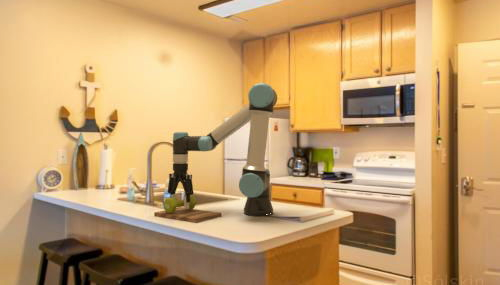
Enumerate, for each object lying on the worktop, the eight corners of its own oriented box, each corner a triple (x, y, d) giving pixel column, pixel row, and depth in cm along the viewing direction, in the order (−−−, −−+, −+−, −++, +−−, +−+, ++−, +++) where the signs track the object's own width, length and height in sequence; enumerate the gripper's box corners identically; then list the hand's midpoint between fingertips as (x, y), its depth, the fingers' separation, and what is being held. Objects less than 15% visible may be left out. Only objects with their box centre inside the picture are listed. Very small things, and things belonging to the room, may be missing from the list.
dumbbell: (171, 214, 176) (171, 199, 176) (161, 212, 182) (161, 197, 182) (197, 209, 189) (197, 195, 189) (187, 207, 194) (187, 194, 194)
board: (221, 216, 182) (221, 212, 182) (196, 222, 167) (196, 218, 167) (180, 210, 198) (180, 207, 198) (154, 216, 183) (154, 212, 183)
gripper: (201, 163, 183) (201, 209, 183) (170, 161, 194) (170, 204, 194) (190, 163, 176) (190, 211, 176) (160, 162, 188) (159, 206, 188)
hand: (180, 207), depth 185 cm, fingers closed on dumbbell, 8 cm apart
